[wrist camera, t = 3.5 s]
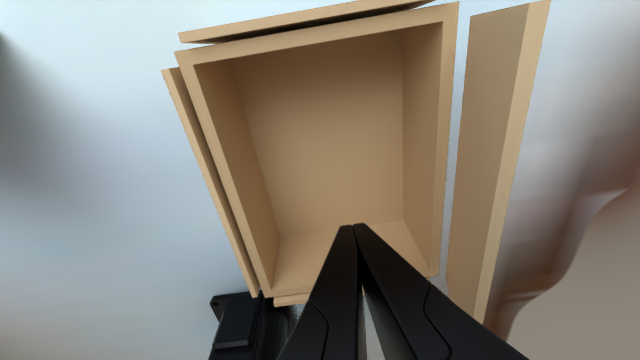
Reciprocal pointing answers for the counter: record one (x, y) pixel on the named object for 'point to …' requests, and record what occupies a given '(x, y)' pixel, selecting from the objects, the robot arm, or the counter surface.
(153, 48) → the counter surface
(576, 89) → the counter surface
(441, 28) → the carton
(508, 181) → the flap near
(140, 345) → the counter surface
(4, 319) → the counter surface
